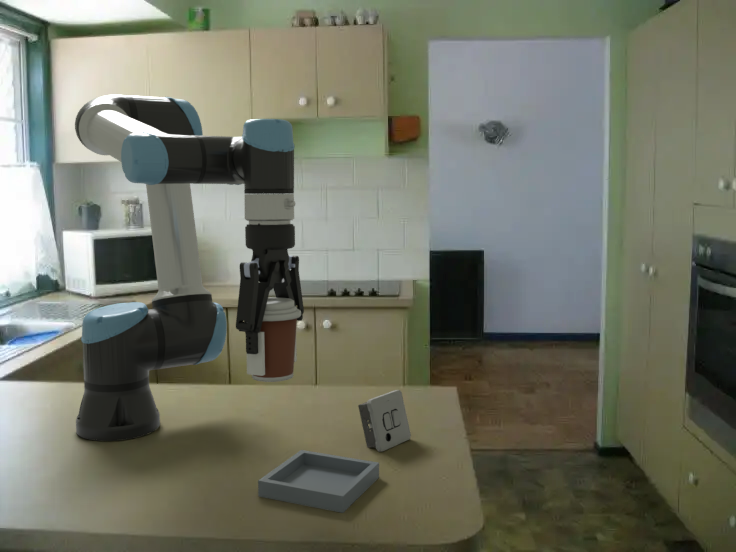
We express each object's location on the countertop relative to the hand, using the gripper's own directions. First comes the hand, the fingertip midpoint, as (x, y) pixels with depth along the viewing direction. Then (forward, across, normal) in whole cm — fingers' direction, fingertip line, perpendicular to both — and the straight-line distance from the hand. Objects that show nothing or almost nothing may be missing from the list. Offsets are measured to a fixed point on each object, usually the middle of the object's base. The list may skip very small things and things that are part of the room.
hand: (272, 367), depth 118 cm
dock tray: (+18, +1, -8) cm, 20 cm away
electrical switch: (+18, +23, -9) cm, 31 cm away
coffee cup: (+2, 0, 0) cm, 2 cm away
